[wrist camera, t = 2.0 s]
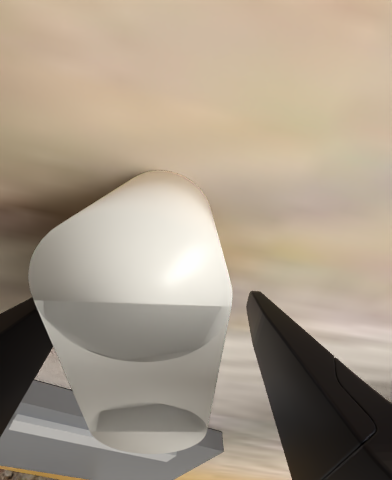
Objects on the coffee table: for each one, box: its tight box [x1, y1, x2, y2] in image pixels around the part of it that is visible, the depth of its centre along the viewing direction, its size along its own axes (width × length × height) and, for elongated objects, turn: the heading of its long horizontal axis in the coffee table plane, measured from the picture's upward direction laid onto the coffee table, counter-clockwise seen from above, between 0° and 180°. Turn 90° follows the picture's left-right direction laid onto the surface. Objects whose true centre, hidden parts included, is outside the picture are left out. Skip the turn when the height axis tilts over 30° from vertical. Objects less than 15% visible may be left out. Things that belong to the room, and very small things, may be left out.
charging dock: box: [0, 380, 224, 480], centre depth 16 cm, size 19×12×2 cm, turn 57°
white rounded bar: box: [28, 170, 232, 454], centre depth 8 cm, size 4×12×4 cm, turn 176°
